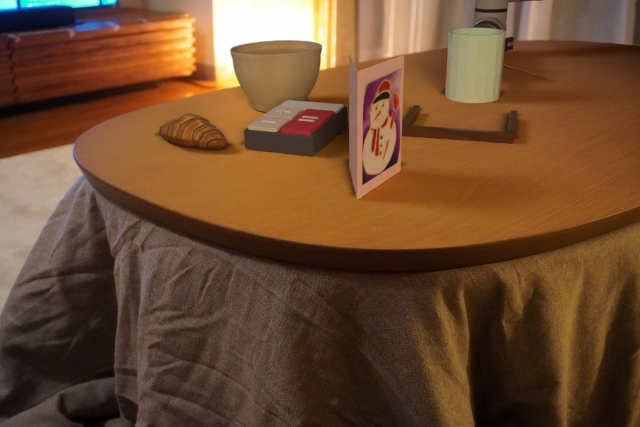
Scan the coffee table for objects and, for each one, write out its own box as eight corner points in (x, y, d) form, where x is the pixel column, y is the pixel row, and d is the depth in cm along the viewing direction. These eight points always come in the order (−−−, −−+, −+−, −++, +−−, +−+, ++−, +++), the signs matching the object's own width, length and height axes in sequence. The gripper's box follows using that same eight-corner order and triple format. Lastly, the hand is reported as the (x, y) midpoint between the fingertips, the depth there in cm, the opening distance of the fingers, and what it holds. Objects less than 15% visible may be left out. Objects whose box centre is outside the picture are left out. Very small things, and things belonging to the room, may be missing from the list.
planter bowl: (311, 94, 122) (310, 37, 118) (332, 114, 108) (332, 50, 103) (230, 100, 119) (225, 42, 114) (240, 122, 104) (235, 56, 100)
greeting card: (363, 201, 72) (364, 72, 66) (310, 189, 76) (307, 66, 70) (406, 171, 81) (410, 55, 75) (356, 162, 85) (357, 50, 79)
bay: (413, 113, 107) (414, 104, 107) (516, 119, 102) (517, 110, 102) (398, 135, 96) (399, 126, 95) (513, 143, 91) (514, 133, 90)
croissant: (145, 143, 95) (140, 111, 93) (178, 132, 100) (174, 102, 98) (208, 159, 87) (205, 124, 85) (241, 146, 92) (238, 113, 90)
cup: (510, 99, 115) (517, 32, 110) (463, 105, 111) (469, 37, 106) (478, 88, 123) (484, 26, 118) (434, 94, 120) (438, 30, 115)
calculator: (241, 125, 89) (285, 96, 102) (244, 153, 91) (287, 121, 104) (312, 131, 86) (348, 101, 98) (313, 160, 88) (349, 127, 100)
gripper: (514, 55, 139) (509, 76, 119) (454, 53, 143) (440, 73, 123) (518, 20, 136) (513, 36, 116) (457, 19, 140) (442, 34, 119)
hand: (475, 55), depth 119 cm, fingers closed
